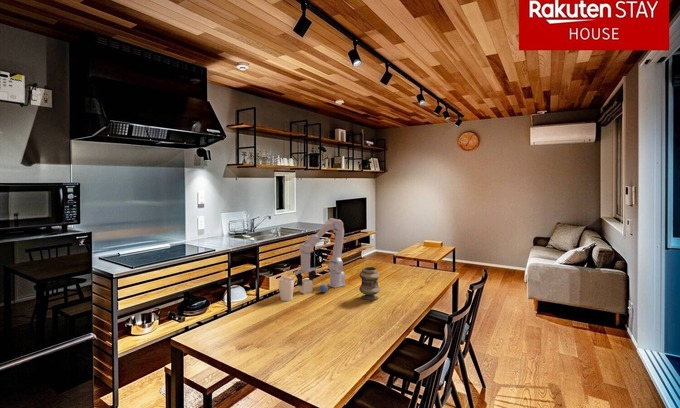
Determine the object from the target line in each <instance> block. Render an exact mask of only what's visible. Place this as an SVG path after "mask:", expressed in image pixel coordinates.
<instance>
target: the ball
mask: <svg viewBox="0 0 680 408" xmlns="http://www.w3.org/2000/svg"><path fill="white" fill-rule="evenodd" d="M328 290H329V286H328V285H327V284H321V285H320V286H319V291H320V292H321V293H323V294H325V293H326V292H328Z"/></svg>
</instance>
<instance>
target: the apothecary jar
mask: <svg viewBox="0 0 680 408" xmlns="http://www.w3.org/2000/svg"><path fill="white" fill-rule="evenodd" d="M380 275H381V274H380V273H379V271H378V268H377V267H376V266H364V267H362V269H361V271H360V273H359V277H360V279H361V283H360V284H361V285H360V286H359V287H358V288H359V289H358V290H359V292H360V293H361V294H363V295H362V296H361V297H360V299H361V300H362V301H366V302H375V301H377V300H378V299H379V298H378V296H377V295H378V293H380V291H381V287H380V286H379V283H378V281H379V278H380Z"/></svg>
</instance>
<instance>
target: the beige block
mask: <svg viewBox="0 0 680 408" xmlns="http://www.w3.org/2000/svg"><path fill="white" fill-rule="evenodd" d="M298 292H300V293H302V294H304V295H305V294H309V293H313V281H312V280H309V278H302V286H300V285H299V284H298Z"/></svg>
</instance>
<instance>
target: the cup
mask: <svg viewBox="0 0 680 408" xmlns="http://www.w3.org/2000/svg"><path fill="white" fill-rule="evenodd" d="M294 286H295V278H294V277H291V276H282V277H280V278H279V279H278V290H279V296H280V301H282V302H289V301H292V300H293V297H294V288H295V287H294Z"/></svg>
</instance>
